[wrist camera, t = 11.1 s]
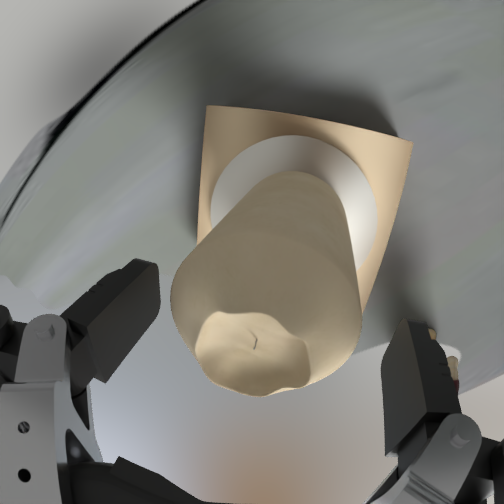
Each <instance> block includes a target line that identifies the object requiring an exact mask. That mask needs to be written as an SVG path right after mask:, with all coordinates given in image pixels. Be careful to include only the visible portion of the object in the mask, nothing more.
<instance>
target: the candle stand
mask: <svg viewBox="0 0 504 504" xmlns="http://www.w3.org/2000/svg"><path fill="white" fill-rule="evenodd" d="M412 147H413V142H410V141H407V140H405V139H402V138H399V137H395V136H392V135H388V134H384V133H380V132H377V131H373V130H369V129H365V128H361V127H356V126H352V125H348V124H343V123H338V122H334V121H329V120H324V119H318V118H313V117H307V116H301V115H295V114H289V113H282V112H275V111H268V110H260V109H252V108H242V107H232V106H215V105H207V108H206V118H205V129H204V140H203V152H202V165H201V179H200V195H199V212H198V233H197V245H198V244H199V243H200V242H201V241H202V240H203V239H204V238H205V237H206V236H207V235H208V234H209V232H210V231H211V230H212V229H213V228H214V227H215V226H216V225H217V224H218V223H219V222H220V221H221V220H222V219H223V218H224V217H225V216H226V215H227V213H228V212H229V211H230V210H231V209H232V208H233V207H234V206H235V205H236V204H237V203H238V202H239V201H240V200H241V199H242V198H243V197H244V196H245V195H246V194H247V193H248V192H249V191H250V190H251V189H252V188H253V187H254V186H255V185H256V184H257V183H259V182H260V181H261V180H263V179H264V178H266V177H268V176H270V175H273V174H275V173H279V172H285V171H299V172H305V173H308V174H311V175H314V176H316V177H318V178H319V179H321V180H323V181H324V182H325V183H327V184H328V185H329V186H330V187H331V188H332V189H333V190H334V191H335V192H336V194H337V195H338V196H339V198H340V200H341V202H342V204H343V207H344V209H345V213H346V217H347V222H348V227H349V232H350V238H351V243H352V249H353V255H354V261H355V267H356V273H357V280H358V287H359V294H360V302H361V309H362V314H363V311H364V308H365V306H366V303H367V301H368V298H369V295H370V293H371V290H372V287H373V285H374V282H375V279H376V276H377V273H378V270H379V268H380V265H381V262H382V259H383V256H384V253H385V249H386V246H387V243H388V240H389V237H390V233H391V230H392V227H393V223H394V220H395V216H396V213H397V209H398V206H399V202H400V198H401V194H402V191H403V187H404V183H405V178H406V174H407V170H408V166H409V161H410V157H411V152H412Z"/></svg>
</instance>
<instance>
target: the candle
mask: <svg viewBox="0 0 504 504" xmlns="http://www.w3.org/2000/svg"><path fill="white" fill-rule="evenodd" d="M170 302H171V311H172V315H173V319H174V322H175V324H176V327H177V329H178V331H179V333H180V335H181V337H182V338H183V340H184V342H185V344H186V345H187V347H188V348H189V349H190V351H191V353H192V354H193V355H194V357H195V358H196V360H197V361H198V363H199V364H200V366H201V367H202V370H203V371H204V373H205V375H206V376H207V378H208V379H209V380H210V381H211V382H213V383H214V384H216V385H218V386H220V387H223V388H226V389H229V390H232V391H235V392H238V393H241V394H244V395H248V396H253V397H264V396H269V395H271V394H274V393H278V392H282V391H287V390H292V389H298V388H303V387H305V386H306V385H309V384H311V383H314V382H317V381H318V380H320V379H322V378H324V377H326V376H328V375H330V374H331V373H333V372H334V371H336V370H337V369H338V368H339V367H340V366H341V365H343V364H344V363H345V362H346V360H347V359H348V358H349V357H350V356H351V354H352V352H353V351H354V349H355V347H356V345H357V343H358V340H359V338H360V333H361V329H362V309H361V302H360V294H359V287H358V280H357V273H356V267H355V261H354V255H353V249H352V243H351V238H350V232H349V227H348V222H347V217H346V213H345V209H344V207H343V204H342V202H341V200H340V198H339V196H338V195H337V194H336V192H335V191H334V190H333V189H332V188H331V187H330V186H329V185H328V184H327V183H325V182H324V181H323V180H321V179H319V178H318V177H316V176H314V175H311V174H308V173H305V172H299V171H285V172H279V173H275V174H273V175H270V176H268V177H266V178H264V179H263V180H261V181H260V182H259V183H257V184H256V185H255V186H254V187H253V188H252V189H251V190H250V191H249V192H248V193H247V194H246V195H245V196H244V197H243V198H242V199H241V200H240V201H239V202H238V203H237V204H236V205H235V206H234V207H233V208H232V209H231V210H230V211H229V212H228V213H227V215H226V216H225V217H224V218H223V219H222V220H221V221H220V222H219V223H218V224H217V225H216V226H215V227H214V228H213V229H212V230H211V231H210V232H209V234H208V235H207V236H206V237H205V238H204V239H203V240H202V241H201V242H200V243H199V244H198V245H197V246H196V248H195V249H194V250H193V251H192V252H191V253H190V254H189V255H188V256H187V257H186V259H185V260H184V261H183V262H182V264H181V265H180V267H179V268H178V270H177V272H176V274H175V277H174V279H173V283H172V287H171V296H170Z"/></svg>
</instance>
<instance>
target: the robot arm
mask: <svg viewBox="0 0 504 504" xmlns="http://www.w3.org/2000/svg"><path fill="white" fill-rule="evenodd" d="M160 303H161V300H160V287H159V270H158V266H157V264H156V263H152V262H149V261H145V260H141V259H137V258H135V259H133V260H132V261H131V262H129V263H128V264H127V265H126V266H125V267H124V268H122V269H118V270H116V271H113V272H111V273H109V274H107V275H105V276H104V277H103V278H102V279H101V280H99V281H98V282H97V284H96V285H94V286H92V287H91V288H90V289H89V291H88V292H86V293H84V294H83V295H82V296H81V297H80V298H79V299H78V300H76V301H75V302H74V303H73V304H72V305H71V306H70V307H69V308H68V309H66V310H65V311H64V312H63V313H62V314H61V315H60V316H58V315H55V314H45V315H41V316H38V317H36V318H34V319H33V320H31V321H30V322H29V323H28V324H27V323H22V322H16V321H13V320H12V317H11V315H10V313H9V310H8V309H7V307H5V306H2V305H0V504H229V503H212V502H204V501H201V500H199V499H197V498H195V497H194V496H192V495H190V494H189V493H187V492H185V491H184V490H182V489H181V488H179V487H178V486H176V485H175V484H173V483H171V482H170V481H169V480H167V479H165V478H164V477H163V476H161V475H160V474H158V473H155V472H153V471H150V470H148V469H145V468H143V467H141V466H139V465H137V464H134V463H132V462H130V461H128V460H126V459H124V458H122V457H120V456H119V457H118V458H117V460H116V462H115V463H114V464H112V463H105V462H103V458H102V455H101V452H100V449H99V446H98V444H97V441H96V437H95V431H94V423H93V413H92V403H91V390H90V385H89V382H90V381H91V380H92V379H93V377H94V378H96V379H98V380H100V381H102V382H104V383H106V382H107V381H108V380H109V378H110V377H111V376H112V374H113V373H114V372H115V370H116V369H117V368H118V366H119V365H120V364H121V362H122V361H123V360H124V359H125V357H126V356H127V354H128V353H129V352H130V351H131V349H132V348H133V347H134V346H135V344H136V343H137V342H138V340H139V339H140V338H141V336H142V335H143V334H144V332H145V331H146V330H147V329H148V328H149V326H150V325H151V324H152V322H153V321H154V320H155V319H156V317H157V315H158V313H159V309H160ZM381 379H382V392H383V408H384V430H385V456H387V457H398V465H397V466H395V467H394V469H393V470H392V471H391V472H390V473H389V475H388V476H387V477H386V478H385V479H384V480H383V482H382V483H381V484H380V485H379V486H378V487H377V488H376V490H375V491H374V492H373V493H372V494H371V495H370V496H369V497H368V498H367V500H365V501H364V503H363V504H487V498H488V497H490V496H491V495H493V494H494V502H495V503H494V504H504V439H503V440H502V441H501V442H498V441H495V440H492V439H488V438H485V437H482V436H481V432H480V429H479V427H478V425H477V424H476V423H475V422H474V420H472V419H471V418H470V417H468V416H466V415H463V414H462V412H461V408H460V404H459V400H458V396H457V392H456V388H455V385H454V381H453V378H452V377H451V371H450V367H449V366H448V361H447V358H446V355H445V352H444V350H443V349H442V347H441V346H440V345H439V343H438V342H437V341H436V340H434V339H431V336H430V333H429V330H428V327H427V324H426V323H425V322H422V321H416V320H410V319H405V318H404V319H402V320H401V322H400V323H399V325H398V327H397V330H396V332H395V334H394V336H393V338H392V340H391V342H390V344H389V346H388V348H387V350H386V352H385V354H384V356H383V360H382V364H381Z"/></svg>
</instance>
